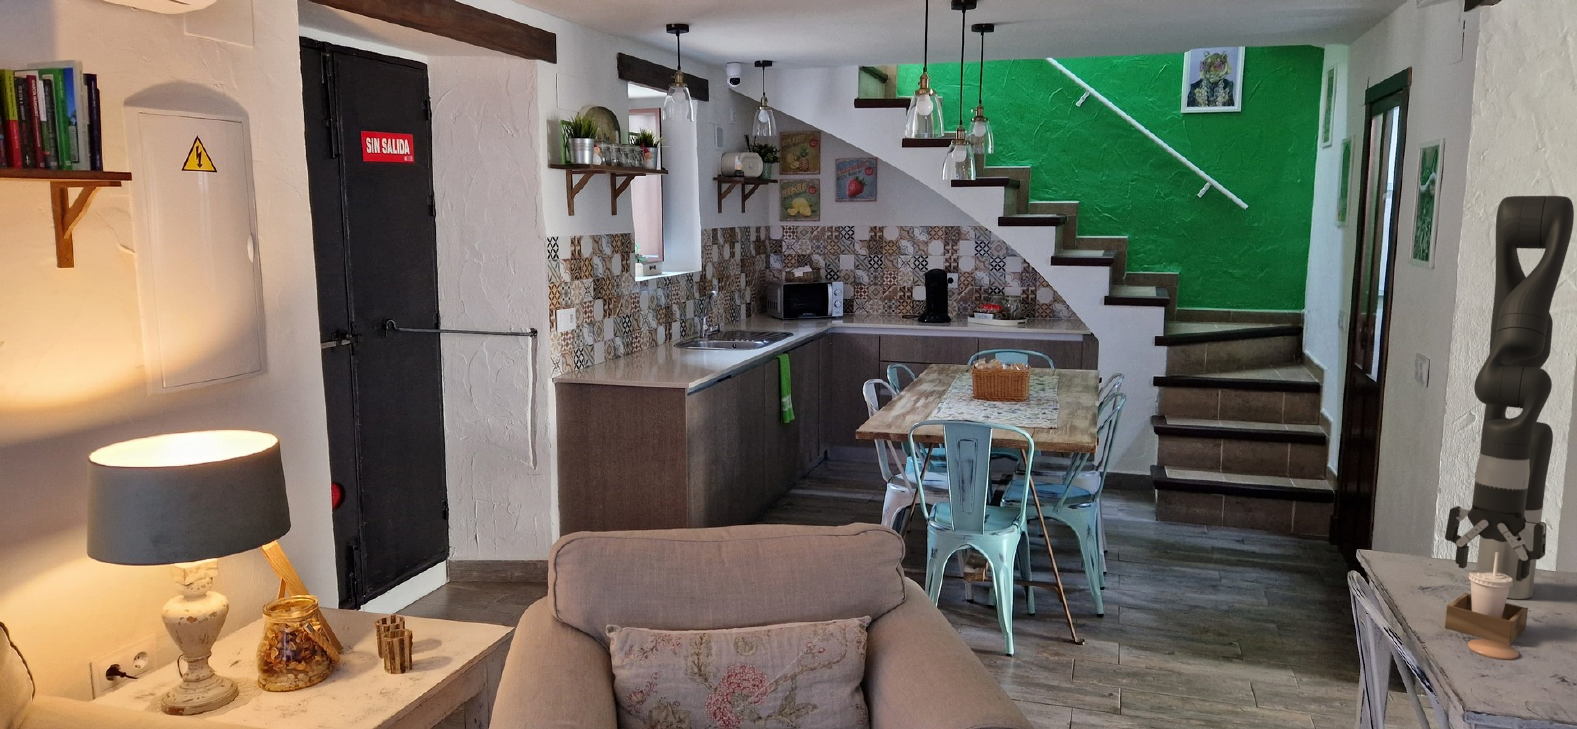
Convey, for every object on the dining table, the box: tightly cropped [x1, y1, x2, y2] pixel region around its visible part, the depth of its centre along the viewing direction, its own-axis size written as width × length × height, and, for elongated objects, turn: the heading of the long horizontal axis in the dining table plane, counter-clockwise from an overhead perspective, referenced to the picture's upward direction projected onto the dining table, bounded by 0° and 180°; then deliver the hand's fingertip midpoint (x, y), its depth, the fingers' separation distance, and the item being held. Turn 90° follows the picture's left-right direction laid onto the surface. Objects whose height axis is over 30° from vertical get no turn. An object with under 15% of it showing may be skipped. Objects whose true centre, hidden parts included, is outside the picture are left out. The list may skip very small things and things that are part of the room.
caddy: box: [1444, 592, 1529, 646], centre depth 184 cm, size 10×10×4 cm
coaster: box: [1467, 638, 1520, 661], centre depth 175 cm, size 7×7×1 cm
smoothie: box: [1468, 551, 1513, 618], centre depth 183 cm, size 6×6×14 cm
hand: (1490, 573), depth 183 cm, fingers open, 8 cm apart
